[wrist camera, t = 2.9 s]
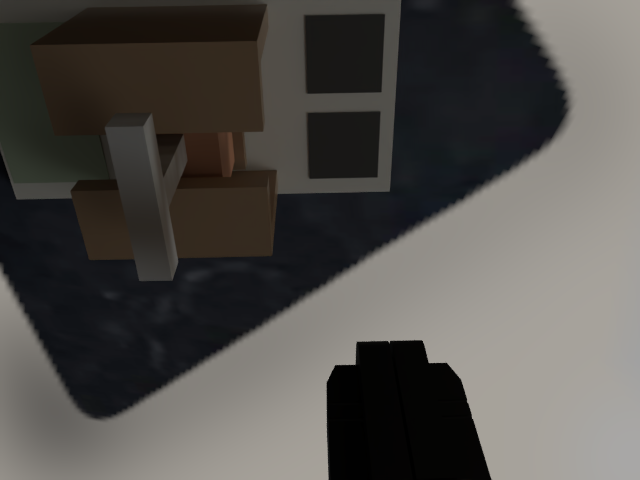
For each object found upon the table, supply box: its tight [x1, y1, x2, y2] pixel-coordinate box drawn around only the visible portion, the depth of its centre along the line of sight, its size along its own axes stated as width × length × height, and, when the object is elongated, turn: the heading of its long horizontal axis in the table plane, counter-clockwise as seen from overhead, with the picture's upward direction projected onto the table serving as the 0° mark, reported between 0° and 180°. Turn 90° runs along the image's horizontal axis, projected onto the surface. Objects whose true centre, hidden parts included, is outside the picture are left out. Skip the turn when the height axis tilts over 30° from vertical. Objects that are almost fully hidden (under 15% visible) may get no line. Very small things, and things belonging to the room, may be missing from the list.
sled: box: [105, 113, 247, 281], centre depth 24 cm, size 6×5×10 cm
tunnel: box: [0, 0, 401, 260], centre depth 26 cm, size 10×20×8 cm, turn 91°
